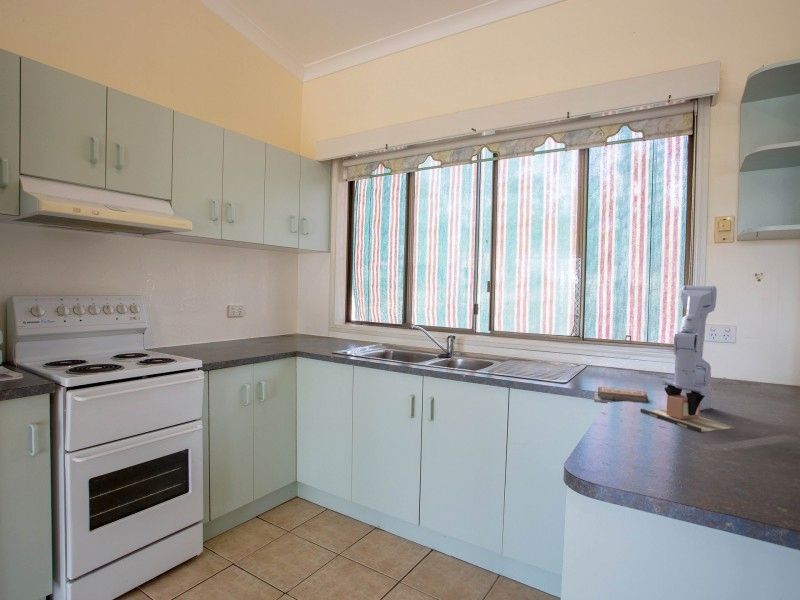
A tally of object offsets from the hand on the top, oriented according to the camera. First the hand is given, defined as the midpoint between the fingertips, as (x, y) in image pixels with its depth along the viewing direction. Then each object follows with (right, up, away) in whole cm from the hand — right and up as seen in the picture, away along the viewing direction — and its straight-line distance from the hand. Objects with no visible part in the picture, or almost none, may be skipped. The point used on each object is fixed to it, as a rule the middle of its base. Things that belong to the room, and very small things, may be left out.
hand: (683, 412), depth 140 cm
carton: (0, -1, 0) cm, 1 cm away
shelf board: (0, -3, -2) cm, 4 cm away
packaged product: (-8, -3, +23) cm, 25 cm away
